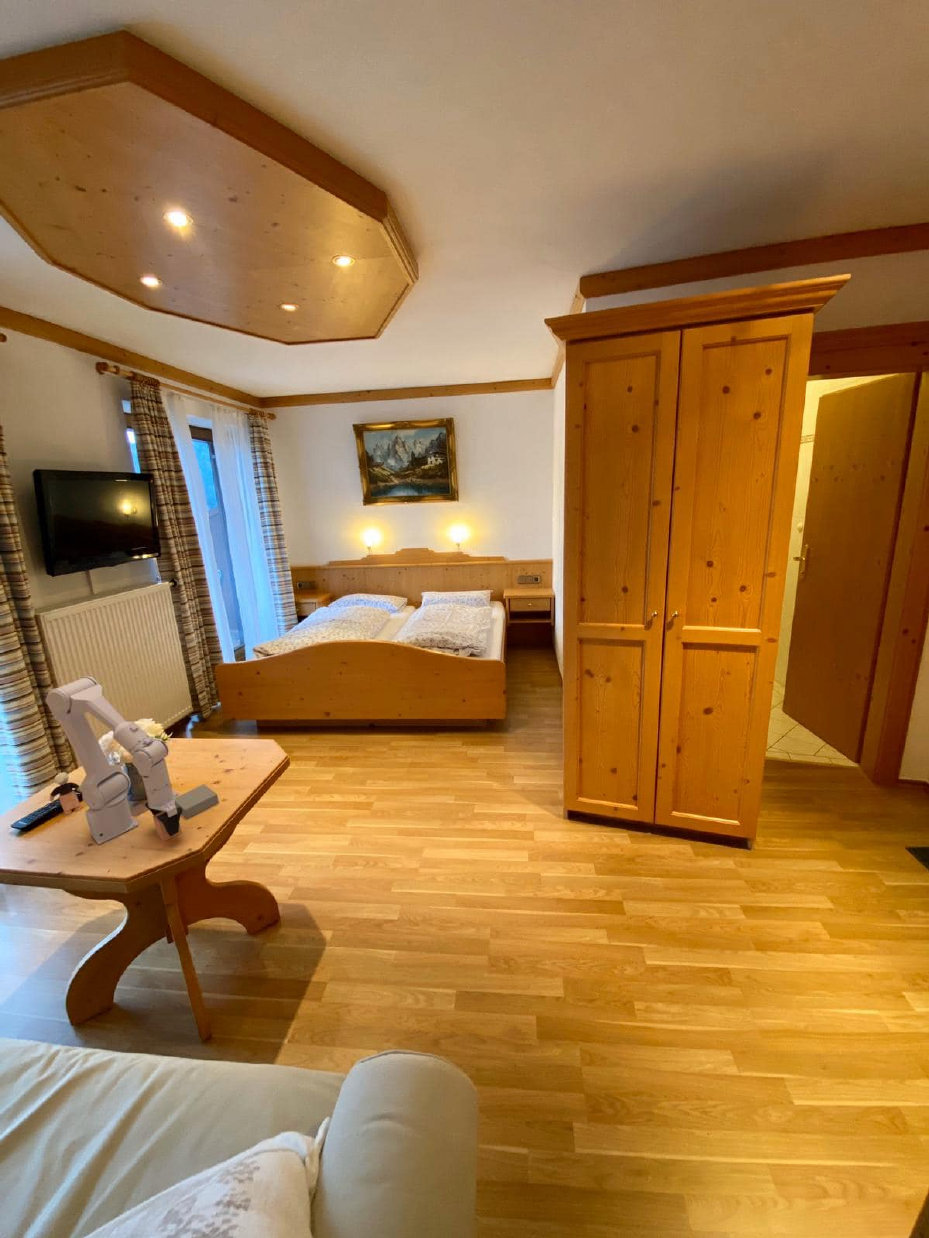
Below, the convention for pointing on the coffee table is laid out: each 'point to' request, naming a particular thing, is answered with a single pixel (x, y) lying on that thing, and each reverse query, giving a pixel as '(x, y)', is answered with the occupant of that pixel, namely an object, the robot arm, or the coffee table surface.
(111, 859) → the coffee table surface
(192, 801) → the gray block
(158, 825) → the terracotta block
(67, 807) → the grandmother figurine
